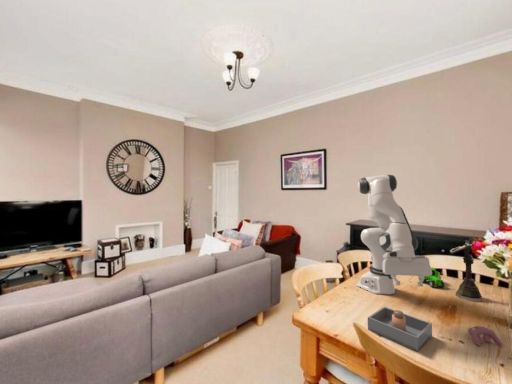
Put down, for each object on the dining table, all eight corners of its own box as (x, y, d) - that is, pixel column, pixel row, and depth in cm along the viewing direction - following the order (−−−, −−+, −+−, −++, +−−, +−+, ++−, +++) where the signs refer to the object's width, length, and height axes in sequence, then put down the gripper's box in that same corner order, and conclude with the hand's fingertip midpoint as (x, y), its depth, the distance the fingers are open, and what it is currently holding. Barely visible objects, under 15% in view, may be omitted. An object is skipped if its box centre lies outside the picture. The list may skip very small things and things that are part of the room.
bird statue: (442, 295, 146) (442, 236, 145) (448, 288, 154) (447, 233, 154) (480, 304, 133) (479, 240, 133) (483, 297, 141) (483, 236, 141)
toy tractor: (429, 288, 155) (429, 273, 155) (416, 279, 171) (416, 265, 171) (449, 289, 154) (448, 273, 153) (434, 280, 170) (434, 265, 169)
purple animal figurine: (494, 345, 101) (487, 325, 105) (504, 346, 97) (496, 326, 100) (470, 345, 102) (463, 326, 105) (479, 346, 97) (472, 326, 100)
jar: (390, 329, 109) (389, 311, 109) (395, 325, 112) (395, 308, 112) (402, 335, 105) (402, 316, 105) (408, 330, 108) (407, 312, 108)
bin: (367, 329, 111) (367, 317, 111) (384, 317, 121) (384, 306, 121) (417, 351, 96) (417, 337, 96) (432, 336, 106) (431, 323, 105)
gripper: (424, 256, 119) (431, 287, 113) (379, 255, 122) (383, 284, 117) (431, 254, 113) (438, 286, 108) (383, 253, 116) (387, 284, 111)
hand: (409, 285), depth 112 cm, fingers open, 8 cm apart
